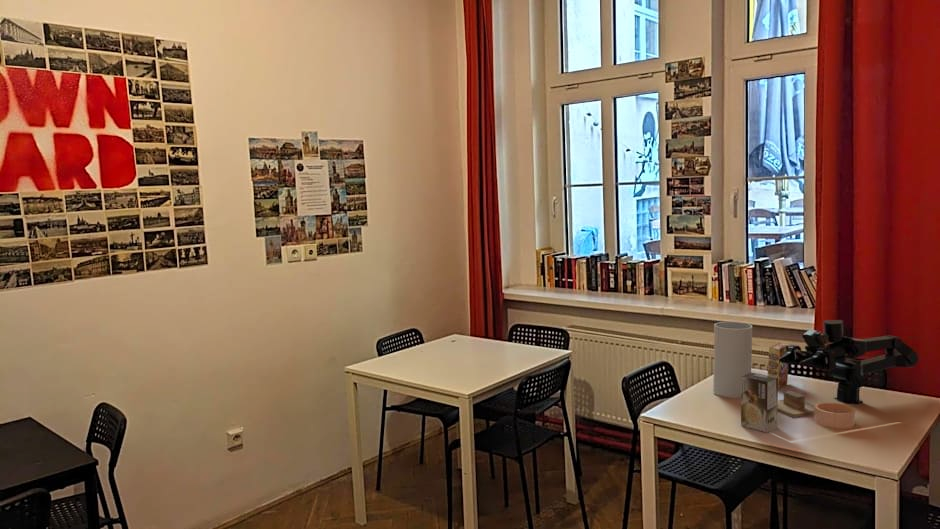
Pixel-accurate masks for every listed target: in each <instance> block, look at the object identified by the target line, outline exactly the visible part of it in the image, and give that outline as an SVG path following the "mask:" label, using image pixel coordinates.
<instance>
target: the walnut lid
mask: <svg viewBox="0 0 940 529" xmlns="http://www.w3.org/2000/svg"><path fill="white" fill-rule="evenodd" d="M814 405H815V404H813V403H810V402H807V401H806V396H805V395H803V394H800V393H798V392H795V391H791V390H789V391H784V392H783V399H778V403H777V411H778V412H777V413H779V412H781V413H783V414H786V415H788V416H790V417H789V418H791V417H798V418H800V417H799V416H804V417H806V416H805V415H810V416H812V415H811V414H814ZM781 413H780V414H781ZM783 414H782V415H783ZM786 415H785V416H786ZM788 416H787V417H788Z"/></svg>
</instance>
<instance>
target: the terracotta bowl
mask: <svg viewBox="0 0 940 529" xmlns="http://www.w3.org/2000/svg"><path fill="white" fill-rule="evenodd" d="M813 405H814V415H813V421H814V422H815V423H816V424H818V425H821V426H823V427H827V428H831V429H832V428H833V429H844V430H845V429H848V428H849V429H850V428H853V427H854V426H855V424H856V423H855V422H856V409H855V408H854V407H853V406H850V405H849V404H846V403H841V402H840V403H839V402H831V401H830V402H826V401H824V402H817V403H816V404H813Z"/></svg>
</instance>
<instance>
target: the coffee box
mask: <svg viewBox="0 0 940 529" xmlns="http://www.w3.org/2000/svg"><path fill="white" fill-rule="evenodd" d="M778 389H779V388H778V378H775V377H771V376H768V375H765V374H762V373H757V372H751V373H748V374H745V375H744V376H741V398H740V403H741V404H740V405H741V406H740V407H741V408H740V419H741V420H740V426H741V425H742V426H741V427H745V428H749V429H752V430H755V431H760V432H762V431H763V433H770V432H771V431H772V430H775V429H777V428H778V412H777V403H778V400H779V398H778V397H779V396H778V395H779V394H778V393H779V392H778V391H779V390H778Z"/></svg>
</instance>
